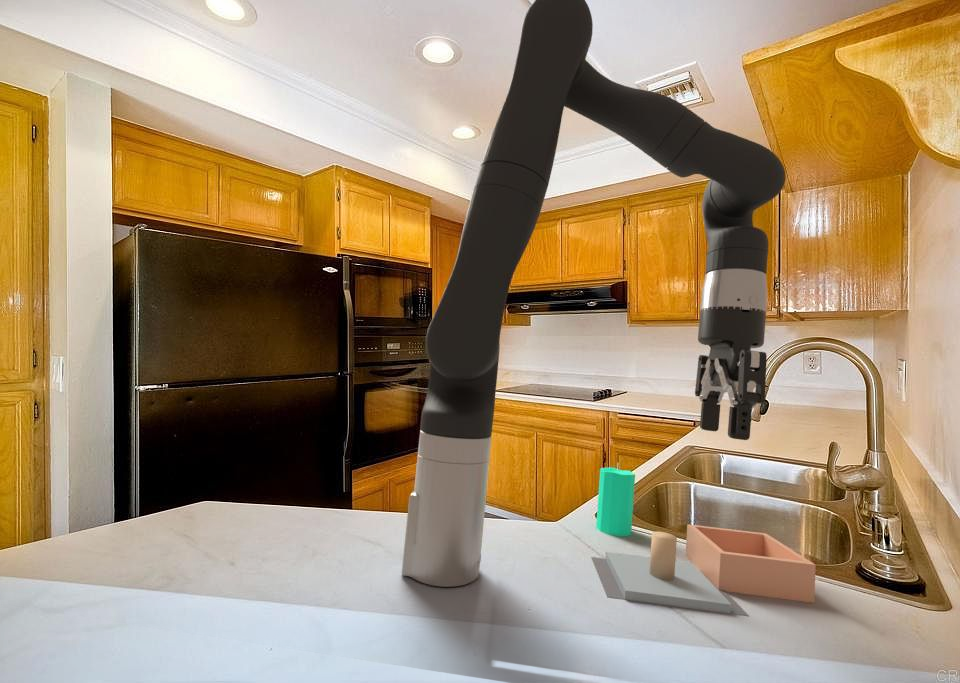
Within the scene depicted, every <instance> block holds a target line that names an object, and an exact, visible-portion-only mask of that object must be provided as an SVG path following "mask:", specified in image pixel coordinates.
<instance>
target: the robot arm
mask: <svg viewBox="0 0 960 683" xmlns="http://www.w3.org/2000/svg"><path fill="white" fill-rule="evenodd" d="M591 12H592V11H591V8H590V7H589V5H588V3H587V1H586V0H534V1H533V2H532V4H530V6H529V7H528V10H527V11H526V13H525V15H524V18H523V21H522V23H521V24H522V25H521V28H520V38H519V39H520V40H519V43H518V44H519V45H518V50H517V55H516V60H515V64H514V68H513V73H512V77H511V81H510V84H509V88H508V92H507V94H506V97H505V99H504V102H503V105H502V107H501V110H500V112H499V114H498V117H497V118H496V122H495V124H494V127H493V131H492V132H491V134H490V138H489V141H488V144H487V146H486V150H485V152H484V154H483V156H482V157H483V158H482V161H481V164H480V166H479V169H478V173H477V175H476V179H475V182H474V185H473V189H472V192H471V196H470V200H469V204H468V207H467V212H466V215H465V219H464V223H463V227H462V232H461V236H460V237H461V238H460V242H459V247H458V252H457V256H456V259H455V262H454V265H453V268H452V271H451V274H450V276H449V279H448V281H447V284H446V286H445V289H444V291H443V293H442V296H441V298H440V301H439V303H438V305H437V307H436V309H435V312H434V314H433V315H432V317H431V318H432V319H431V321H430V323H429V324H428V328H427V332H426V336H425V352H426V355H427V359H428V360H429V362H430V367H429V376H428V384H427V385H428V386H427V391H426V397H425V400H424V404H423V408H422V410H421V417H420V426H419V428H420V430H419V438H418V448H417V458H416V459H417V460H416V466H415V468H416V470H415V479H414V488H413V489H414V490H413V491H412V492H411V493H410V495H409V497H408V507H407V508H408V509H407V514H406V515H407V517H406V518H407V519H406V527H405V534H404V535H405V538H404V547H403V554H402V555H403V556H402V557H403V558H402V566H401V576H405V577H410V578H411V579H414V580H415V581H418V582H420V583H422V584H426V585H429V586H435V587H446V588H449V587H459V586H464V585H467V584H470V583H472V582H474V581H475V580H476V579H478V578H479V575H480V566H481V561H482V547H483V546H482V545H483V544H482V543H483V537H484V536H483V534H484V525H485V524H484V523H485V513H486V512H485V510H486V500H487V491H488V481H489V480H488V477H489V466H490V458H491V447H492V446H491V444H492V434H493V426H494V425H493V424H494V415H495V414H494V413H495V405H496V392H497V382H498V372H499V360H500V340H501V339H500V338H501V331H502V324H503V318H504V314H505V309H506V304H507V298H508V295H509V291H510V285H511V283H512V281H513V277H514V274H515V272H516V269H517V267H518V265H519V264H520V263H519V262H520V261H521V258H522V257H523V255H524V253H525V251H526V248H527V247H528V244H529V243H530V240H531V238H532V236H533V232H534V230H535V228H536V225H537V223H538V220H539V218H540V214H541V211H542V207H543V204H544V201H545V197H546V194H547V191H548V187H549V184H550V179H551V175H552V170H553V166H554V161H555V157H556V152H557V147H558V142H559V136H560V130H561V125H562V118H563V114H564V109H565V108H567V109H569V110H571V111H573V112H575V113H577V114H579V115H580V116H583V117H585V118H586V119H589V120H591V121H592V122H594V123H596V124H599V125H600V126H602V127H604V128H606V129H608V130H610V131H611V132H612V133H614V134H616V135H618V136H620V137H621V138H623V139H624V140H626V141H627V142H629V143H630V144H632V145H633V146H635V147H636V148H638V149H639V150H640V151H642V152H643V153H644V154H646V155H647V156H648V157H650V158H651V159H652V160H653V161H655V162H657V163H658V164H660V166H662V167H663V168H665V169H666V170H667V171H669V172H670V173H672V174H673V175H675V176H676V177H679V178H688V177H691V176H694V175H701V176H703V177H705V178H708V179H710V180H709V181H708V183H707V184H706V186H705V189H704V191H703V192H704V193H703V197H702V204H701V209H702V210H701V211H702V217H703V218H702V219H703V220H702V221H703V225H704V232H705V233H704V234H705V238H706V242H707V252H706V261H705V273H704V274H705V275H704V280H703V285H702V289H701V297H700V298H701V299H700V309H699V323H698V330H697V331H698V335H697V341H698V342H699V344H701V345H704V346H709V347H710V348H709V353H708V355H705V354H699V356H698V361H697V370H696V380H695V388H694V389H695V390H694V395H695V397H698V398H699V402H701V405H700V406H701V407H700V421H699V422H700V423H699V427H700V429H701V430H702V431H703V430H704V431H709V432H717V431H719V428H720V427H719V426H720V416H721V402H722V400H723V397H724V395H725V393H727V395H728V399H729V404H730V406H729V412H728V423H727V424H728V426H727V427H728V428H727V436H728V437H729V438H730V439H733V440H741V441H747V440H749V439H750V436H751V427H752V426H751V424H752V412H753V409H754V408H756V407H757V404H760V405H762V404H764V403H765V400H766V381H767V380H766V379H767V378H766V377H767V358H768V357H767V352H766V351H758V350H752V349H757V348H761V347H762V346H764V343H765V334H766V333H765V331H766V320H767V307H768V306H767V305H768V304H767V303H768V284H767V271H768V256H769V238H768V235H767V234H766V232H765V231H764V230H762V229H760V228H759V227H755V226H754V221H753V216H754V211H756V210H757V209H759V208H761V207H763V206H764V205H766V204H768V203H769V202H771V201H772V200H773V199H774V198H776V197H777V196H778V195H779V194H780V193H781V192H782V191H783V188H784V187H785V183H786V169H785V167H784V164H783V163H782V162H781V159H780V158H779V157H778V156H777V155H776V154H775V153H774V152H773V151H772V150H770V149H769V148H767V147H765V146H763V145H762V144H759V143H757V142H755V141H752V140H750V139H747V138H746V137H745V138H744V137H741V136H739V135H737V134H733V132H732V133H731V132H729V131H724V130H722V129H718V128H715V127H714V126H712V125H711V124H710V123H709V122H707V121H705V119H704V118H702V117H700V116H699V115H698V114H697V113H695V112H694V111H693V110H691V109H689V108H688V107H687V106H686V105H684V104H682V103H681V102H680V101H678V100H676V99H674V98H672V97H670V96H667V95H665V94H662V93H660V92H656V91H655V92H654V91H651V90H645V89H642V88H641V89H640V88H636V87H635V88H634V87H630V86H626V85H624V84H620V83H618V82H615V81H613V80H612V79H610V78H608V77H606V76H605V75H603V74H601V73H600V72H599V71H598V70H597V69H596V68H595V67H593V65H591V64H590V63H589V62H588V61H587V59H586V58H587V56H588V52H589V48H590V47H591V42H592V36H593V30H594V29H593V26H594V25H593V18H592V13H591ZM754 390H755V392H754Z"/></svg>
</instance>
